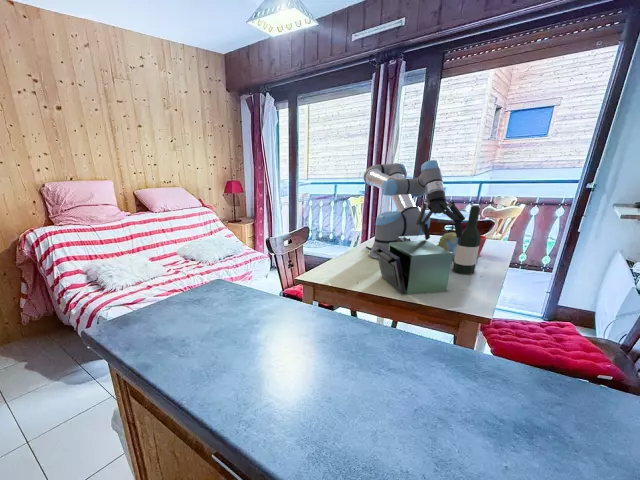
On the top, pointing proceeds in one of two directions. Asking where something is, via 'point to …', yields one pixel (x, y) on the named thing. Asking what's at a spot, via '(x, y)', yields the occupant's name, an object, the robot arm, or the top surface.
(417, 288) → the oven
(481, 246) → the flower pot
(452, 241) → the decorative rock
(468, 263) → the wine bottle
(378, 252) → the oven door
